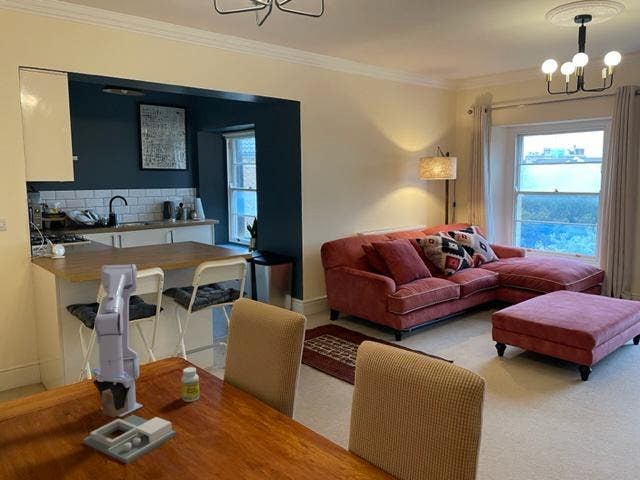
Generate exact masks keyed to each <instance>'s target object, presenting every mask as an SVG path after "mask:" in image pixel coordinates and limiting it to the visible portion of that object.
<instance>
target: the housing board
mask: <svg viewBox="0 0 640 480" xmlns="http://www.w3.org/2000/svg"><path fill="white" fill-rule="evenodd" d="M147 421H149V420H147V419H145V418H143V417H140V416H137V415H135V414H131V415H130V416H127V417H125V418H124V419H121V418H117V419H115V420H113V421H112V422H109V423H106V424H105V425H103V426H100V427H99V428H97V429H95V430H93V431H91V432H90V433H89V436H86V437H85V438H83V439H82V443H83V444H85V445H87V446H89V447H91V448H93V449H95V450H98V451H99V452H101V453H103V454H106V455H107V456H110V457H112V458H114V459H116V460H118V461H121V462H122V463H125V464H127V465H128V464H130V463H132V462H134V461H135V460H137V459H139V458H140V457H141V456H143V455H145V454H146V453H149V452H151V451H152V450H153V449H154V450H155V448H157V447H158V446H161V445H162V444H163V443H165V442H167V441H169V440H170V439H172V438H174V437H175V436H177V431H176V430H173V429H172V431H171V432H169V433H167V434H166V435H164V436H162V437H161V438H159V439H157V440H155V441H154V442H152V443H149V436H148V435H143V436H141V437H136V430H135V428H136V427H138V426H140V425H142V424H143V423H145V422H147ZM119 430H120V431H121V432H124V433H122V434H121V435H119V436H117V437H115V438H113V439H112V438H110V437H107V436H109V435H110V434H112V433H114V432H116V431H119Z"/></svg>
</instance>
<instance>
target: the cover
mask: <svg viewBox="0 0 640 480" xmlns="http://www.w3.org/2000/svg"><path fill="white" fill-rule="evenodd" d="M135 430H136V437H141V436H143V435H148V436H149V443H152V442H154V441H155V440H157V439H159V438H161V437H162V436H164V435H166V434H167V433H169V432H171V431H172V430H173V428H172V422H171V421H169V420H166V419H163V418H160V417H158V416H155V417H153V418H151V419H149V420H148V421H147V422H145V423H143V424H142V425H140V426H138V427H136V428H135Z"/></svg>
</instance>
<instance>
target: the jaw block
mask: <svg viewBox="0 0 640 480" xmlns="http://www.w3.org/2000/svg"><path fill="white" fill-rule="evenodd" d="M101 400H102V404H101V405H102V407H103V410H102V414H104V415H107V416H108V417H111V418H115V417H119V416H118V415H120V414H122V413H125V412H127V411H128V393H127V396H126V400H125V405H124V408H122V409H120V410H116V408H115V403H114V398H113V394H112V392H111V390H110V389H108V390H105V391H102V398H101Z"/></svg>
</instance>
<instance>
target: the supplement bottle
mask: <svg viewBox="0 0 640 480" xmlns="http://www.w3.org/2000/svg"><path fill="white" fill-rule="evenodd" d="M182 372H183V373H182V374H183V375H182V377H181V380H180V382H181V399H182V400H183V401H184V402H190V403H191V402H195V401H197V400H198V399H199V398H200V383H199V382H200V377H199V375H198V374H197V368H196V367H186V368H184V369H183V370H182Z"/></svg>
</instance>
